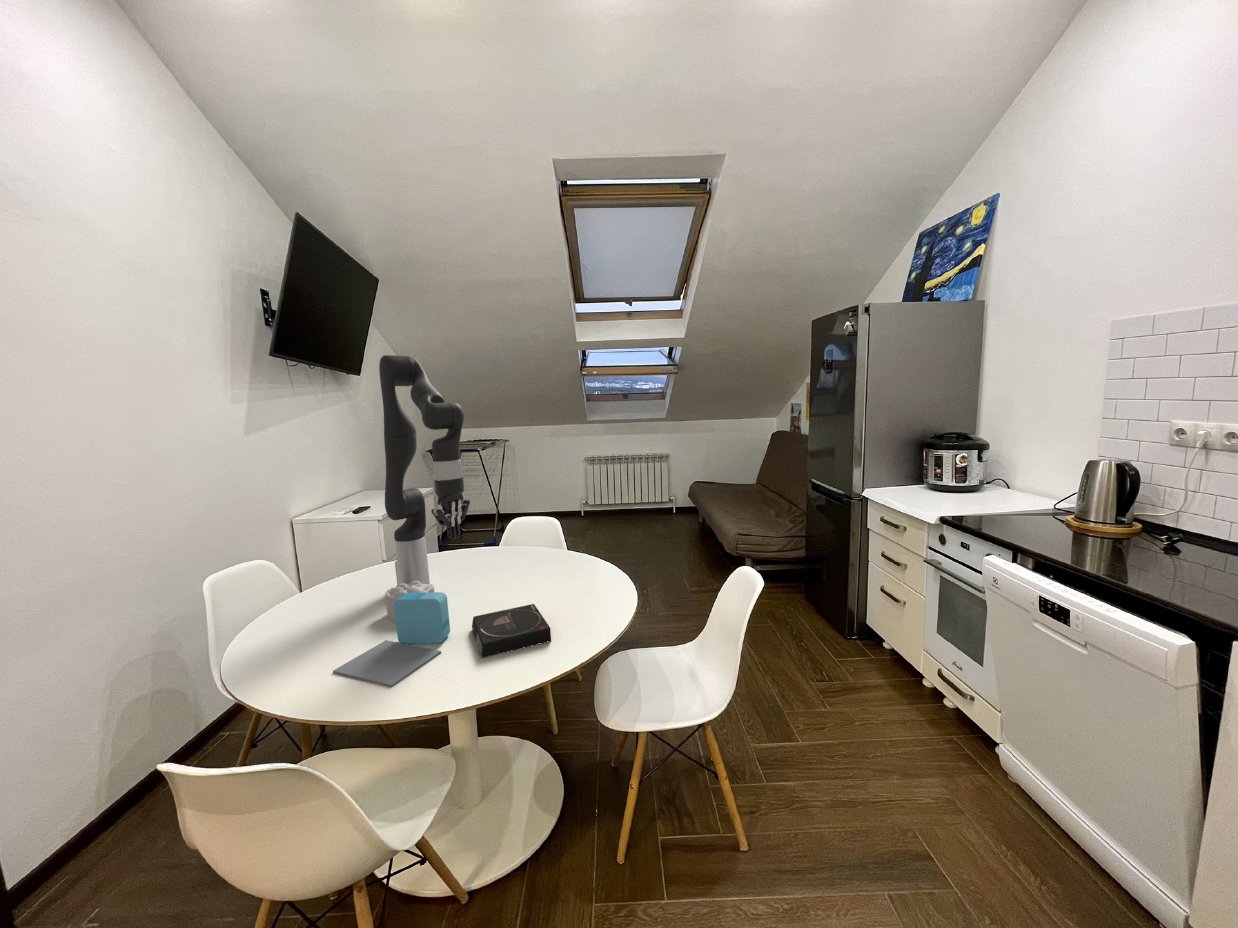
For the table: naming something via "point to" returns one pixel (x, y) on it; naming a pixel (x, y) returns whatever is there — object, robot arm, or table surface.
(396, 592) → the bumpy-topped grey block
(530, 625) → the portable cd player
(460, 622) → the table surface
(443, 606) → the data package
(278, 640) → the table surface
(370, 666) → the mat
